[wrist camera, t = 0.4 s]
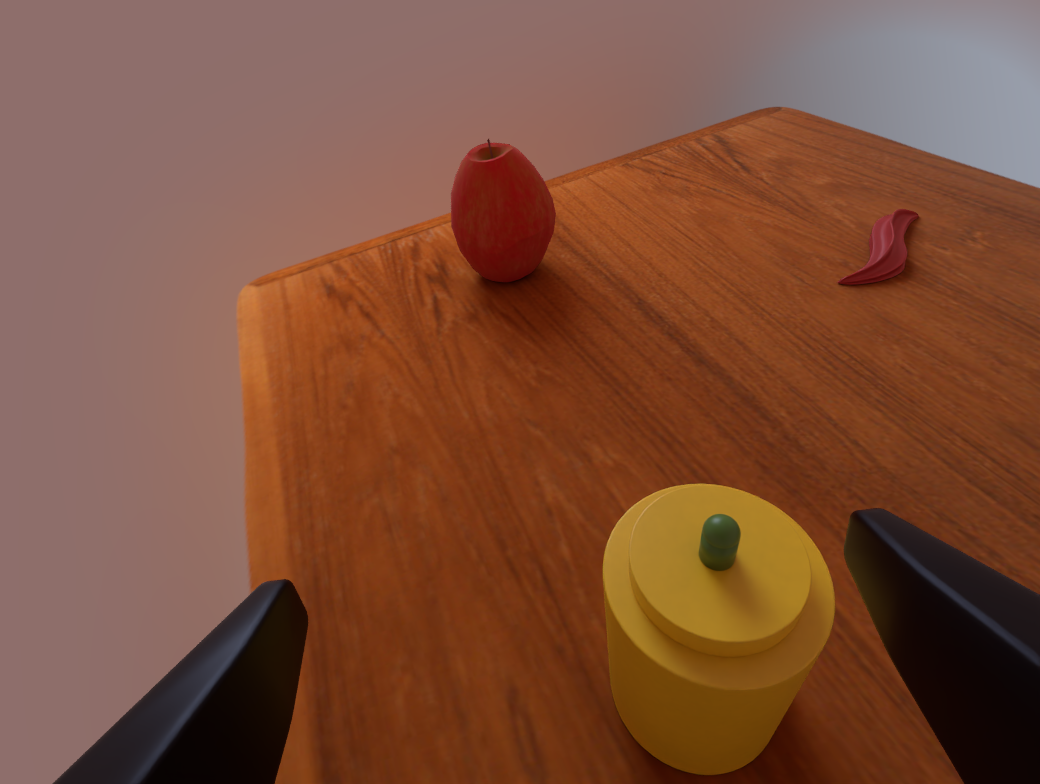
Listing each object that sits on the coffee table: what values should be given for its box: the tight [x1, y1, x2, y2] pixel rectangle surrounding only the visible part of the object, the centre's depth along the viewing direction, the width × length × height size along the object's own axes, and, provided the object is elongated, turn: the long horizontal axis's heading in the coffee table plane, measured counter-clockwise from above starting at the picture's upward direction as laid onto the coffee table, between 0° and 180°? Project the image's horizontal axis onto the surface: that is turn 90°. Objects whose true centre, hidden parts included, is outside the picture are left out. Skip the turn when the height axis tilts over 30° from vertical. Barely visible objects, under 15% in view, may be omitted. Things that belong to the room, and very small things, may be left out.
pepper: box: [603, 484, 835, 775], centre depth 19 cm, size 7×7×12 cm
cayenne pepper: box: [838, 209, 919, 285], centre depth 42 cm, size 12×5×2 cm, turn 126°
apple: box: [451, 139, 556, 282], centre depth 44 cm, size 8×8×11 cm
